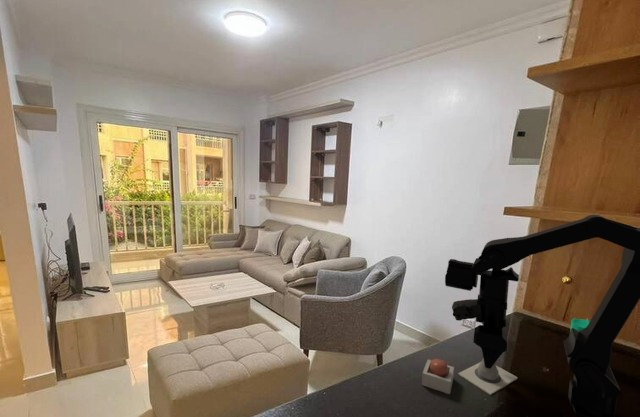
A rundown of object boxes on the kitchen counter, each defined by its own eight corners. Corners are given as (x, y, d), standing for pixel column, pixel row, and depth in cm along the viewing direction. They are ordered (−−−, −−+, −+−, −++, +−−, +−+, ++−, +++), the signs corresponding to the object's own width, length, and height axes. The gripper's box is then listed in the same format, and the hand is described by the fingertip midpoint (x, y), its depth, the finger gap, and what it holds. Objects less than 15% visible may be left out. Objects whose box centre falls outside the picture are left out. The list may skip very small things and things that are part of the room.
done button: (447, 371, 72) (448, 361, 72) (445, 380, 69) (445, 370, 69) (431, 366, 74) (432, 357, 74) (428, 374, 71) (429, 365, 71)
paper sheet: (485, 360, 80) (485, 359, 80) (517, 378, 73) (517, 377, 73) (458, 374, 75) (458, 372, 75) (490, 395, 68) (490, 393, 68)
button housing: (453, 378, 73) (454, 367, 73) (449, 394, 68) (450, 382, 68) (427, 370, 76) (427, 359, 76) (422, 385, 71) (422, 372, 71)
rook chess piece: (501, 375, 74) (503, 344, 73) (494, 384, 71) (497, 351, 70) (481, 366, 77) (483, 336, 76) (474, 374, 74) (476, 343, 73)
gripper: (459, 276, 83) (456, 330, 85) (450, 302, 67) (446, 367, 69) (507, 284, 78) (503, 342, 80) (509, 314, 62) (503, 385, 64)
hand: (488, 357), depth 73 cm, fingers open, 9 cm apart
